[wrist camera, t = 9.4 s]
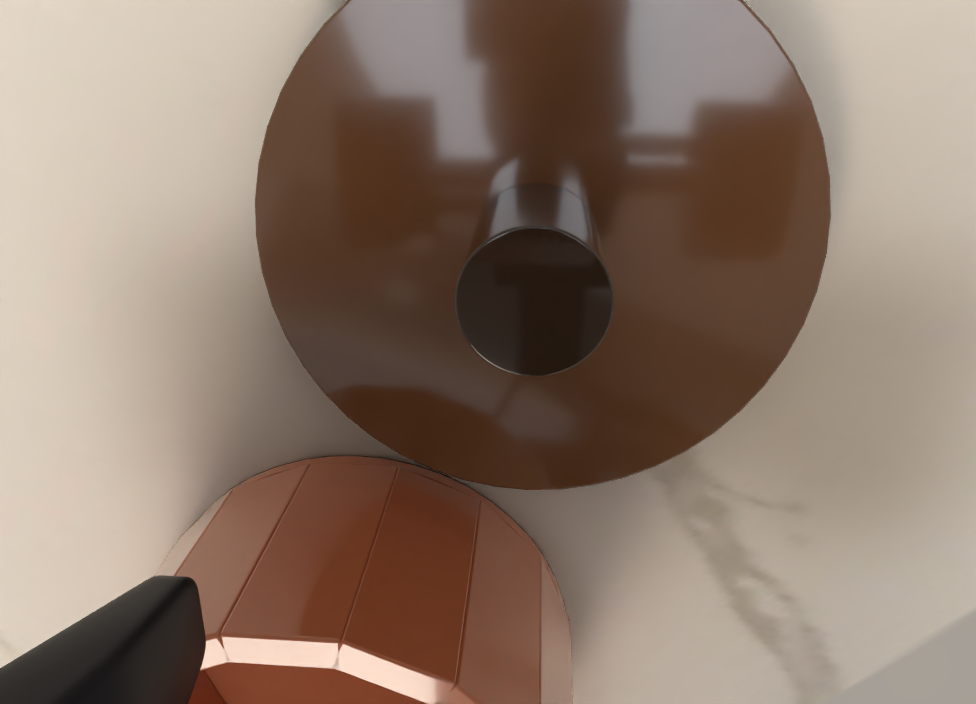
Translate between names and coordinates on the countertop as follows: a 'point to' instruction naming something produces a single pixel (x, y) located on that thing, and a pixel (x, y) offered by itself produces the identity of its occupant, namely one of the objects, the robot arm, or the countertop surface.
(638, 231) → the lid
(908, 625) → the countertop surface
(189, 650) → the robot arm
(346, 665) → the crock
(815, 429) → the countertop surface
